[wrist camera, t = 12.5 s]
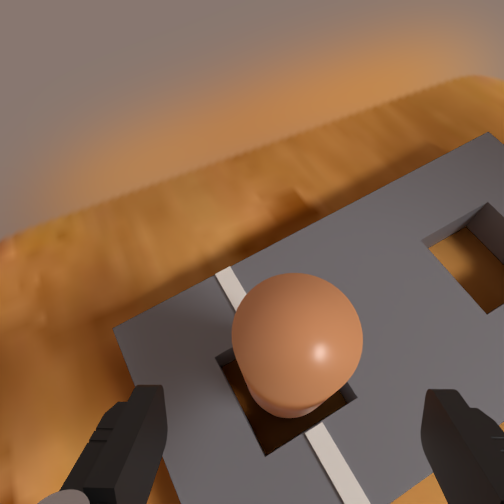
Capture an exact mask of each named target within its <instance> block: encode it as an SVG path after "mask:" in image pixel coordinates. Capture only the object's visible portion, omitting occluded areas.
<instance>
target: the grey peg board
mask: <svg viewBox="0 0 504 504" xmlns="http://www.w3.org/2000/svg"><path fill="white" fill-rule="evenodd" d="M464 227H467V228H468V229H469V230H470V231H471V232H472V233H473V234H474V235H475V236H476V237H477V238H478V239H479V240H480V241H481V242H482V243H483V244H484V245H485V246H486V247H487V248H488V249H489V250H490V251H491V252H492V253H493V254H494V255H495V256H496V257H497V258H498V259H499V260H500V261H501V262H502V263H503V264H504V145H503V144H502V143H501V142H500V141H499V140H498V139H496V138H495V137H494V136H493V135H492V134H490V133H489V132H487V133H485V134H483V135H481V136H479V137H477V138H475V139H473V140H472V141H470V142H468V143H466V144H464V145H462V146H460V147H458V148H456V149H454V150H452V151H451V152H449V153H447V154H445V155H443V156H441V157H439V158H437V159H435V160H433V161H431V162H429V163H428V164H426V165H424V166H422V167H420V168H418V169H416V170H414V171H412V172H410V173H408V174H407V175H405V176H403V177H401V178H399V179H397V180H395V181H393V182H391V183H389V184H387V185H386V186H384V187H382V188H380V189H378V190H376V191H374V192H372V193H370V194H368V195H366V196H365V197H363V198H361V199H359V200H357V201H355V202H353V203H351V204H349V205H347V206H345V207H343V208H342V209H340V210H338V211H336V212H334V213H332V214H330V215H328V216H326V217H324V218H322V219H321V220H319V221H317V222H315V223H313V224H311V225H309V226H307V227H305V228H303V229H301V230H300V231H298V232H296V233H294V234H292V235H290V236H288V237H286V238H284V239H282V240H280V241H279V242H277V243H275V244H273V245H271V246H269V247H267V248H265V249H263V250H261V251H259V252H257V253H256V254H254V255H252V256H250V257H248V258H246V259H244V260H242V261H240V262H238V263H236V264H235V265H233V266H231V267H230V266H229V267H227V268H226V269H224V270H222V271H220V272H218V273H216V274H215V275H214V276H212V277H210V278H208V279H206V280H204V281H202V282H200V283H198V284H196V285H194V286H193V287H191V288H189V289H187V290H185V291H183V292H181V293H179V294H177V295H175V296H173V297H171V298H170V299H168V300H166V301H164V302H162V303H160V304H158V305H156V306H154V307H152V308H150V309H149V310H147V311H145V312H143V313H141V314H139V315H137V316H135V317H133V318H131V319H129V320H128V321H126V322H124V323H122V324H120V325H118V326H116V327H114V328H112V329H113V331H114V334H115V336H116V339H117V341H118V344H119V347H120V349H121V352H122V354H123V357H124V359H125V362H126V364H127V367H128V370H129V372H130V375H131V377H132V380H133V382H134V385H135V387H136V386H137V385H162V386H163V389H164V397H165V406H166V415H167V424H168V432H167V441H166V445H165V449H164V452H163V455H162V456H163V459H164V461H165V464H166V466H167V469H168V472H169V474H170V477H171V479H172V482H173V484H174V487H175V489H176V492H177V495H178V497H179V500H180V502H181V504H390V503H391V502H392V501H394V500H395V499H397V498H398V497H399V496H401V495H402V494H404V493H405V492H406V491H408V490H409V489H411V488H412V487H413V486H415V485H416V484H418V483H419V482H420V481H422V480H423V479H424V478H426V477H427V476H429V475H430V474H431V473H433V470H432V468H431V466H430V464H429V462H428V460H427V458H426V456H425V453H424V451H423V447H422V443H421V435H420V431H421V423H422V416H423V409H424V402H425V396H426V392H427V390H428V389H455V390H457V391H458V392H459V393H460V394H461V396H462V397H463V399H464V400H465V401H466V403H467V404H468V406H469V407H470V408H478V409H480V410H481V411H482V412H484V413H485V414H486V415H488V416H489V417H490V418H492V419H493V420H494V421H495V422H496V423H497V424H498V425H500V424H501V423H502V422H504V303H503V304H502V305H500V306H499V307H497V308H496V309H494V310H492V311H491V312H489V313H488V314H486V313H485V312H484V311H483V310H482V308H481V307H480V306H479V305H478V304H477V303H476V302H475V301H474V300H473V298H472V297H471V296H470V295H469V294H468V293H467V292H466V291H465V289H464V288H463V287H462V286H461V285H460V284H459V283H458V282H457V281H456V279H455V278H454V277H453V276H452V275H451V274H450V273H449V272H448V270H447V269H446V268H445V267H444V266H443V265H442V264H441V263H440V262H439V260H438V259H437V258H436V257H435V256H434V255H433V254H432V253H431V251H430V250H429V249H428V248H429V247H431V246H433V245H434V244H436V243H438V242H440V241H441V240H443V239H445V238H447V237H448V236H450V235H452V234H454V233H455V232H457V231H459V230H461V229H462V228H464ZM285 273H304V274H309V275H313V276H316V277H319V278H321V279H324V280H326V281H328V282H329V283H331V284H333V285H334V286H335V287H337V288H338V289H339V290H340V291H341V292H342V293H343V294H344V295H345V296H346V297H347V298H348V299H349V301H350V302H351V303H352V305H353V307H354V308H355V310H356V312H357V314H358V317H359V320H360V323H361V327H362V332H363V347H362V353H361V358H360V361H359V363H358V366H357V368H356V370H355V372H354V373H353V375H352V376H351V378H350V379H349V380H348V381H347V382H346V383H345V384H344V385H343V386H342V387H341V388H340V389H339V391H340V393H341V394H342V396H343V397H344V399H345V401H346V402H347V404H346V405H344V406H343V407H341V408H339V409H338V410H336V411H335V412H333V413H332V414H330V415H329V416H327V417H325V418H324V419H322V420H321V421H319V422H318V423H316V424H314V425H313V426H311V427H310V428H308V429H307V430H305V431H304V432H302V433H300V434H299V435H297V436H296V437H294V438H293V439H291V440H290V441H288V442H286V443H285V444H283V445H282V446H280V447H279V448H277V449H275V450H274V451H272V452H271V453H269V454H268V455H265V453H264V451H263V449H262V447H261V445H260V443H259V441H258V439H257V437H256V435H255V433H254V431H253V429H252V427H251V425H250V423H249V421H248V419H247V417H246V415H245V413H244V411H243V409H242V407H241V405H240V403H239V401H238V399H237V397H236V396H235V394H234V392H233V390H232V388H231V386H230V384H229V382H228V380H227V378H226V376H225V374H224V372H223V370H222V368H221V367H223V366H224V365H226V364H228V363H230V362H231V361H233V360H235V359H236V357H235V354H234V351H233V345H232V324H233V320H234V316H235V313H236V311H237V308H238V306H239V304H240V303H241V301H242V300H243V298H244V297H245V296H246V294H247V293H248V292H249V291H250V290H251V289H252V288H254V287H255V286H256V285H257V284H259V283H261V282H262V281H264V280H266V279H268V278H270V277H273V276H276V275H280V274H285Z"/></svg>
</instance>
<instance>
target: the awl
mask: <svg viewBox="0 0 504 504" xmlns="http://www.w3.org/2000/svg"><path fill="white" fill-rule="evenodd" d="M232 345H233V351H234V354H235V357H236V360H237V362H238V365H239V367H240V370H241V372H242V374H243V377H244V379H245V382H246V384H247V387H248V389H249V391H250V394H251V395H252V397H253V399H254V400H255V401H256V402H257V404H258V405H259V406H260V407H261V408H263V409H264V410H265V411H267V412H269V413H270V414H272V415H274V416H277V417H280V418H297V417H301V416H304V415H306V414H308V413H310V412H312V411H313V410H315V409H316V408H317V407H318V406H320V405H321V404H322V403H323V402H324V401H326V400H327V399H328V398H329V397H330V396H332V395H333V394H334V393H335V392H336V391H338V390H339V389H340V388H341V387H342V386H343V385H344V384H345V383H346V382H347V381H348V380H349V379H350V378H351V376H352V375H353V373H354V372H355V370H356V368H357V366H358V363H359V361H360V358H361V353H362V347H363V332H362V327H361V323H360V320H359V317H358V314H357V312H356V310H355V308H354V307H353V305H352V303H351V302H350V301H349V299H348V298H347V297H346V296H345V295H344V294H343V293H342V292H341V291H340V290H339V289H338V288H337V287H335V286H334V285H333V284H331V283H329V282H328V281H326V280H324V279H321V278H319V277H316V276H313V275H309V274H304V273H285V274H280V275H276V276H273V277H270V278H268V279H266V280H264V281H262V282H261V283H259V284H257V285H256V286H255V287H254V288H252V289H251V290H250V291H249V292H248V293H247V294H246V296H245V297H244V298H243V300H242V301H241V303H240V304H239V306H238V308H237V311H236V313H235V316H234V320H233V324H232Z"/></svg>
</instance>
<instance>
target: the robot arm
mask: <svg viewBox="0 0 504 504" xmlns="http://www.w3.org/2000/svg"><path fill="white" fill-rule="evenodd" d="M167 432H168V424H167V415H166V406H165V397H164V389H163V386H162V385H137V386H136V387H135V388H134V390H133V392H132V394H131V396H130V398H129V400H128V402H117V403H116V404H115V405H114V406H113V407H112V408H111V409H109V410H108V411H107V412H106V413H105V414H104V415H103V417H102V419H101V421H100V422H99V424H98V426H97V427H96V431H94V433H93V434H92V436H91V438H90V439H89V443H87V445H86V446H85V448H84V450H83V451H82V453H81V455H80V457H79V458H78V460H77V462H76V463H75V465H74V467H73V469H72V470H71V472H70V474H69V475H68V477H67V479H66V481H65V482H64V484H63V486H62V487H61V489H60V491H59V492H56V493H54V494H51V495H49V496H48V497H46V498H44V499H43V500H41V501H40V502H39V503H38V504H146V503H147V500H148V497H149V494H150V491H151V488H152V485H153V482H154V479H155V476H156V473H157V470H158V467H159V464H160V461H161V458H162V455H163V452H164V449H165V445H166V441H167ZM420 435H421V443H422V447H423V451H424V453H425V456H426V458H427V460H428V462H429V464H430V466H431V468H432V470H433V472H434V475H435V477H436V479H437V481H438V483H439V485H440V487H441V489H442V491H443V494H444V496H445V498H446V500H447V502H448V504H504V432H503V431H502V429H501V428H500V427H499V425H498V424H497V423H496V422H495V421H494V420H493V419H492V418H490V417H489V416H488V415H486V414H485V413H484V412H482V411H481V410H480V409H478V408H470V407H469V406H468V404H467V403H466V401H465V400H464V399H463V397H462V396H461V394H460V393H459V392H458V391H457V390H455V389H428V390H427V392H426V396H425V402H424V409H423V416H422V423H421V431H420Z"/></svg>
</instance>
